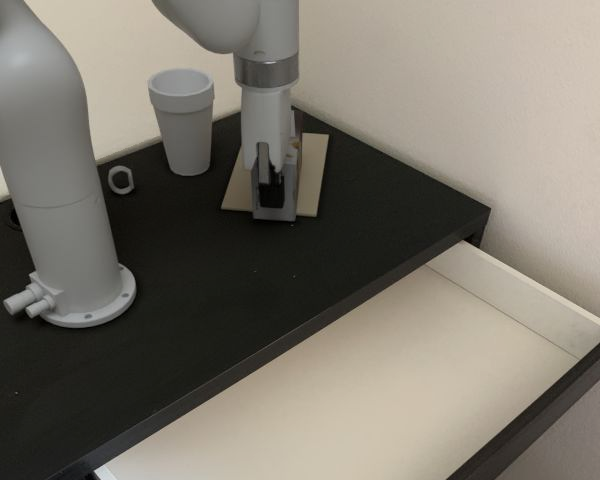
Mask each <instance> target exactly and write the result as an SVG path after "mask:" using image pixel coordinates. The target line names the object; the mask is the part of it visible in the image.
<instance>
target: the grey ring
mask: <svg viewBox="0 0 600 480" xmlns="http://www.w3.org/2000/svg"><path fill="white" fill-rule="evenodd" d="M119 172H125V173H127V180H128V183H129V185H128V186H127V187H124V188H118V187H116V186H115V184H114V181H113V176H114V175H116V174H117V173H119ZM107 179H108V181H107V182H108V185H109V187H110V189H111V190H112V191H113V192H114V193H116V194H119V195H126V194H129V193H130V192H132V190H133V189H135V181H134V175H133V171H132V169H130V168H128V167H126V166H124V165H116V166H114V167H112V168H111V169H110V170H109V171H108V177H107Z"/></svg>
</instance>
